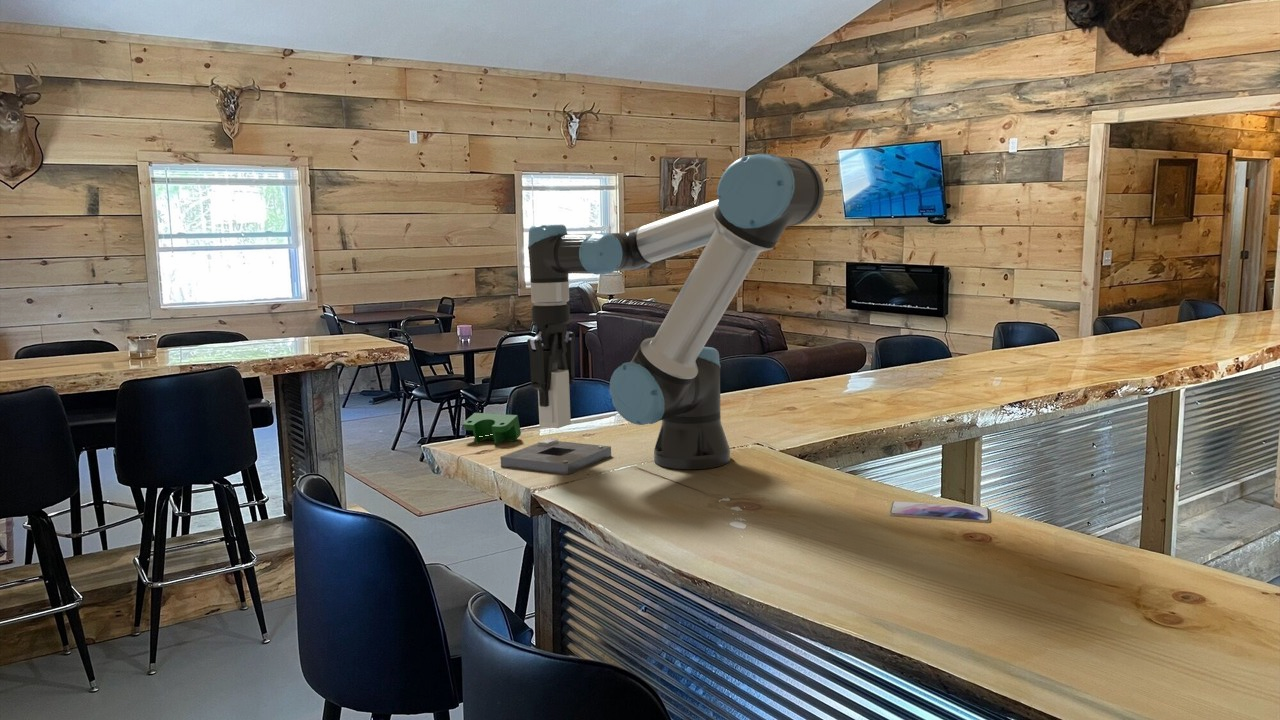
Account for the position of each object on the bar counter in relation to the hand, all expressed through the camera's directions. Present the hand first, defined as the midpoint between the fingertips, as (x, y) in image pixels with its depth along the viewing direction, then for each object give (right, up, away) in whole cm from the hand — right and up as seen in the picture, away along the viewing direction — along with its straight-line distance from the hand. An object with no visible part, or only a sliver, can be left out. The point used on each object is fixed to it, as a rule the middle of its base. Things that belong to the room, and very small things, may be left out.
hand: (555, 419), depth 186 cm
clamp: (-16, -7, +21) cm, 27 cm away
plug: (0, -1, 0) cm, 1 cm away
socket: (0, -9, +1) cm, 9 cm away
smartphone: (+65, -13, -39) cm, 77 cm away
